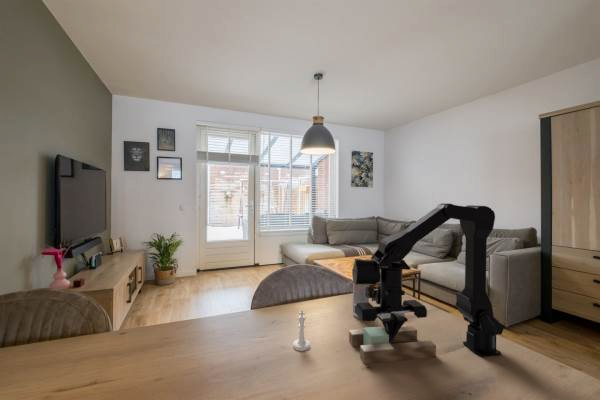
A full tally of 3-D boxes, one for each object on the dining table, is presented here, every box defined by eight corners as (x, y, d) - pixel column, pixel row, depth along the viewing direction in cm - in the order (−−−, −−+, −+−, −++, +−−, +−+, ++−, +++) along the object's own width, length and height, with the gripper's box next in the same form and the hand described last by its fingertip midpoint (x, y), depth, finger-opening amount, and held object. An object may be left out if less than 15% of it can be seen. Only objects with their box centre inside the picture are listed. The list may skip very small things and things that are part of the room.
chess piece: (308, 352, 71) (309, 314, 71) (290, 349, 72) (291, 313, 72) (311, 342, 76) (312, 307, 76) (294, 340, 77) (295, 306, 77)
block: (379, 344, 75) (380, 326, 75) (388, 354, 70) (388, 335, 70) (363, 345, 75) (363, 327, 75) (370, 355, 70) (371, 336, 70)
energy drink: (367, 312, 96) (367, 279, 96) (369, 319, 91) (369, 284, 91) (352, 312, 97) (352, 279, 97) (353, 318, 92) (354, 283, 92)
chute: (412, 336, 80) (412, 325, 80) (435, 356, 70) (436, 344, 70) (349, 341, 77) (349, 330, 77) (363, 363, 66) (364, 350, 66)
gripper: (405, 274, 83) (405, 324, 83) (348, 277, 80) (347, 329, 80) (428, 286, 72) (427, 344, 72) (363, 289, 69) (362, 349, 69)
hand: (390, 340), depth 73 cm, fingers closed
